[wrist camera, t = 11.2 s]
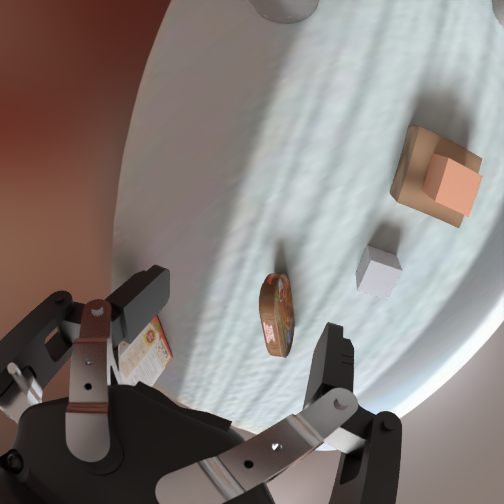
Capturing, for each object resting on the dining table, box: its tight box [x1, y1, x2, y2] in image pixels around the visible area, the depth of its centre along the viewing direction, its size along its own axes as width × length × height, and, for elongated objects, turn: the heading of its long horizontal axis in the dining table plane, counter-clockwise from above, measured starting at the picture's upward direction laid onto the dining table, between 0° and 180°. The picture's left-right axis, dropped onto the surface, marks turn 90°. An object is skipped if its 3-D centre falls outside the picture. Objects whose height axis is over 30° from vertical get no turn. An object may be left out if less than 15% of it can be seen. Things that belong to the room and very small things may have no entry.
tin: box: [259, 273, 294, 358], centre depth 43 cm, size 15×3×8 cm, turn 10°
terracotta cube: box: [422, 153, 482, 217], centre depth 24 cm, size 5×5×5 cm
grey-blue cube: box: [356, 245, 402, 300], centre depth 36 cm, size 5×5×5 cm
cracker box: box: [119, 315, 173, 387], centre depth 52 cm, size 14×6×21 cm, turn 6°
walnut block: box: [390, 126, 482, 228], centre depth 28 cm, size 10×10×5 cm
